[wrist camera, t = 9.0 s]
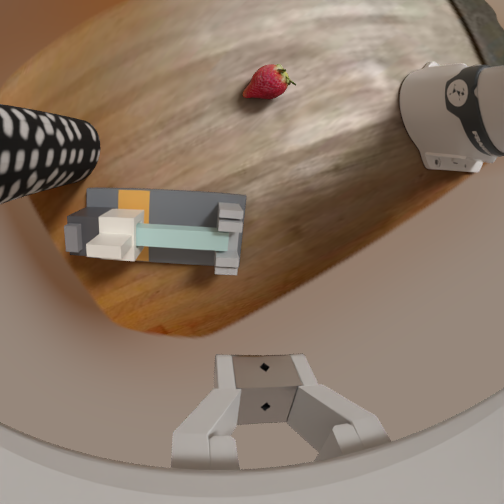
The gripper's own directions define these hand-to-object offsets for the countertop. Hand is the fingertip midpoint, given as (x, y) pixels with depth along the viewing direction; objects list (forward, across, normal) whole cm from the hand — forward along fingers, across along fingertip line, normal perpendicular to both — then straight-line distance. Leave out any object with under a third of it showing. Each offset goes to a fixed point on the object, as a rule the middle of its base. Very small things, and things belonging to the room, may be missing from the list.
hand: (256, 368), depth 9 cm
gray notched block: (+27, 0, +2) cm, 27 cm away
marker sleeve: (+25, +11, +2) cm, 27 cm away
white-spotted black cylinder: (+27, +20, -7) cm, 35 cm away
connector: (+27, +16, +2) cm, 31 cm away
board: (+27, +8, +2) cm, 28 cm away
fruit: (+27, -3, -16) cm, 32 cm away
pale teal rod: (+24, +8, +2) cm, 25 cm away
